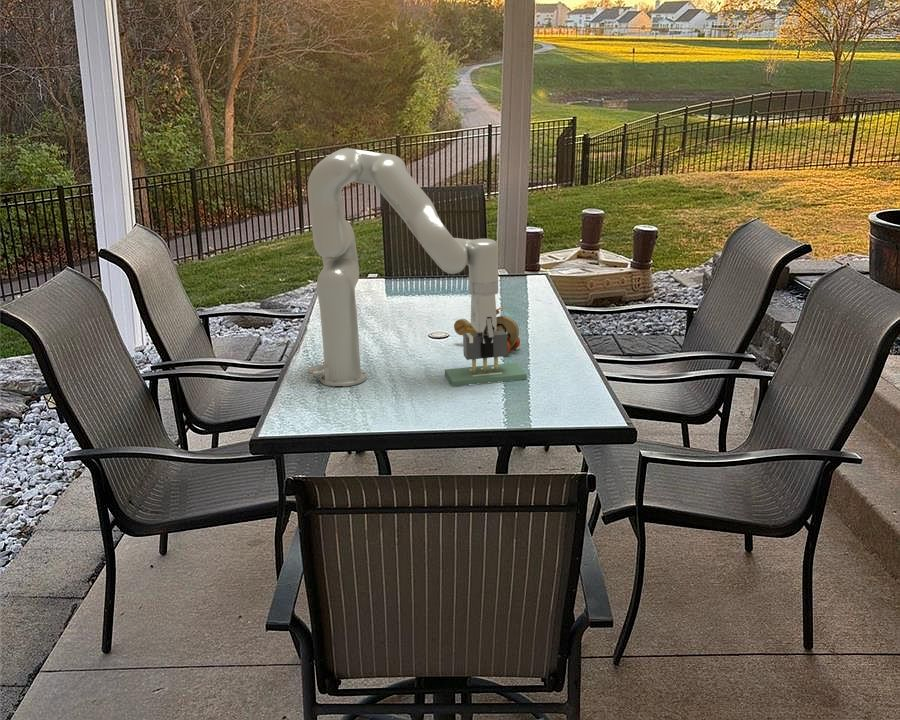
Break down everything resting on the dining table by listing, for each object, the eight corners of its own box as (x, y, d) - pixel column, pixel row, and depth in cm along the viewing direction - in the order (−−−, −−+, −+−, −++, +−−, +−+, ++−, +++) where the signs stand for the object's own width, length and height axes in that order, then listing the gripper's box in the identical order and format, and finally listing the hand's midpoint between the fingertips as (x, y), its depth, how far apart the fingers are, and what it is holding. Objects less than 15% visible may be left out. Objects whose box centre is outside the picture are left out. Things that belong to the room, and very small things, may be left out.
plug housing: (466, 359, 229) (466, 337, 227) (463, 355, 233) (463, 333, 231) (507, 356, 231) (507, 333, 229) (503, 351, 235) (503, 329, 233)
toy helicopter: (511, 358, 249) (511, 311, 244) (448, 348, 259) (447, 303, 254) (524, 350, 255) (523, 304, 251) (462, 341, 265) (461, 297, 261)
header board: (452, 386, 227) (452, 366, 225) (444, 374, 236) (444, 355, 235) (526, 379, 231) (526, 359, 229) (516, 367, 240) (516, 348, 238)
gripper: (462, 281, 233) (464, 347, 239) (477, 295, 217) (478, 365, 223) (489, 279, 234) (491, 344, 240) (506, 293, 219) (507, 363, 225)
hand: (485, 354), depth 232 cm, fingers closed on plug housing, 3 cm apart
